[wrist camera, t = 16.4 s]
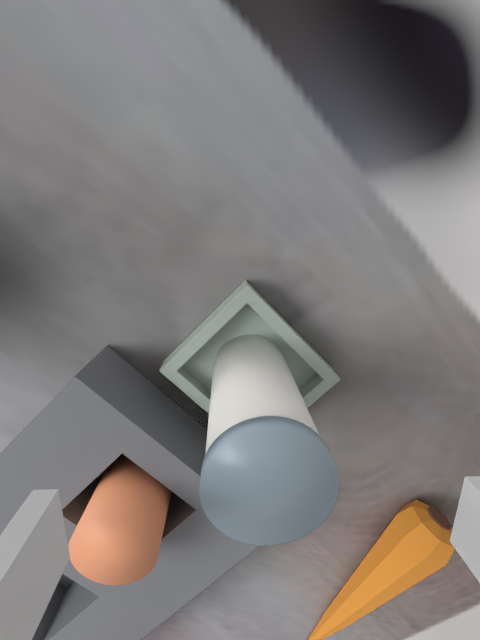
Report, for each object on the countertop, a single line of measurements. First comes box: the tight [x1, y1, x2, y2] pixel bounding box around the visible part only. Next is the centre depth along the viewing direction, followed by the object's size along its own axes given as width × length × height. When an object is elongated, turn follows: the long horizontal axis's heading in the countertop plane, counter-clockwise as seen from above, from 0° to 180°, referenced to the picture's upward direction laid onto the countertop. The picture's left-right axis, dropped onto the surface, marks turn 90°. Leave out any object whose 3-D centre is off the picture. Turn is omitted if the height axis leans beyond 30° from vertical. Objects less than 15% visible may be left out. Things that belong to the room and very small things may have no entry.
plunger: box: [68, 454, 172, 586], centre depth 21 cm, size 5×5×6 cm
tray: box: [159, 280, 341, 414], centre depth 22 cm, size 9×8×2 cm
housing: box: [0, 345, 260, 640], centre depth 24 cm, size 16×22×5 cm
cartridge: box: [199, 334, 340, 545], centre depth 17 cm, size 5×5×11 cm
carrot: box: [308, 500, 455, 640], centre depth 28 cm, size 20×4×4 cm, turn 152°
